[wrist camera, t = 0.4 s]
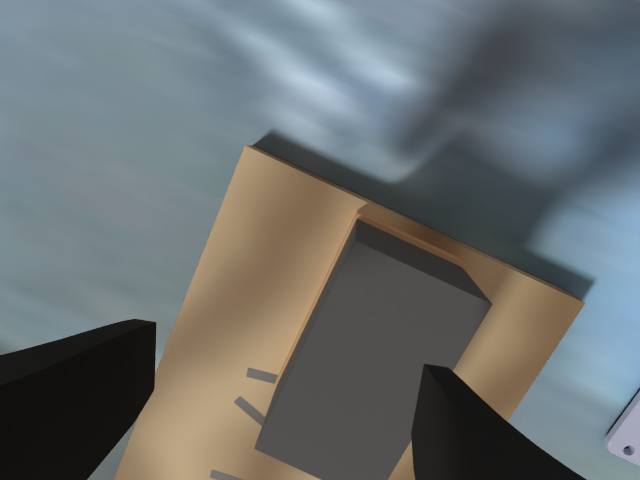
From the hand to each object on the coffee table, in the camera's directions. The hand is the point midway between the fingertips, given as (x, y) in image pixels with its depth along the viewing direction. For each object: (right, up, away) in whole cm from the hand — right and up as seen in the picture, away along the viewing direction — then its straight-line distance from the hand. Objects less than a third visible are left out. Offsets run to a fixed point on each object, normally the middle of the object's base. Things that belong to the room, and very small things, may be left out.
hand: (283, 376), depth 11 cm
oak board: (0, -6, +11) cm, 13 cm away
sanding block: (+3, 0, +8) cm, 9 cm away
